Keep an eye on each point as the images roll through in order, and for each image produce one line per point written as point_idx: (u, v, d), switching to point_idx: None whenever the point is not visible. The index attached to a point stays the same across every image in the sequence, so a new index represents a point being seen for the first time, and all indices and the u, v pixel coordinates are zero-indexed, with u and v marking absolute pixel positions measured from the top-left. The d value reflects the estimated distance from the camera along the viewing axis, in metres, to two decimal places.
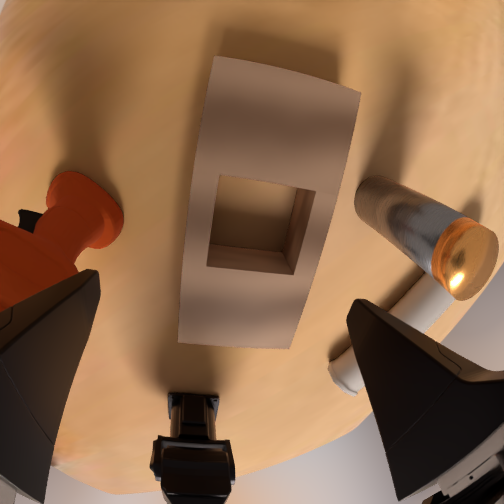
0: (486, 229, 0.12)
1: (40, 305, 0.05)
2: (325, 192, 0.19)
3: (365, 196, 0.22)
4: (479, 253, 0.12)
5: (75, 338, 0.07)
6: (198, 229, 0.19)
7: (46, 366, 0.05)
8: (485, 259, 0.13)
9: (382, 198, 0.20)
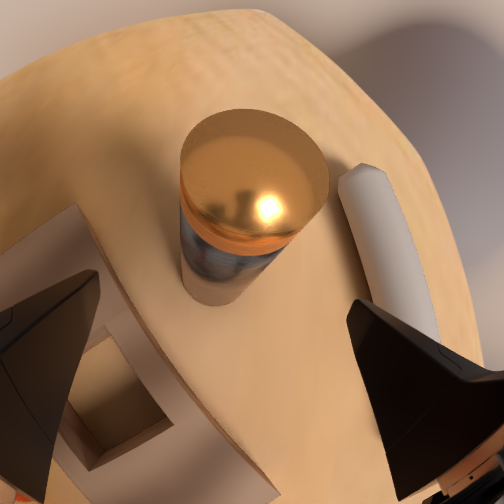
0: None
1: (40, 305, 0.05)
2: (114, 316, 0.14)
3: (184, 281, 0.18)
4: (233, 145, 0.08)
5: (75, 338, 0.07)
6: None
7: (46, 366, 0.05)
8: (262, 141, 0.09)
9: (181, 263, 0.16)
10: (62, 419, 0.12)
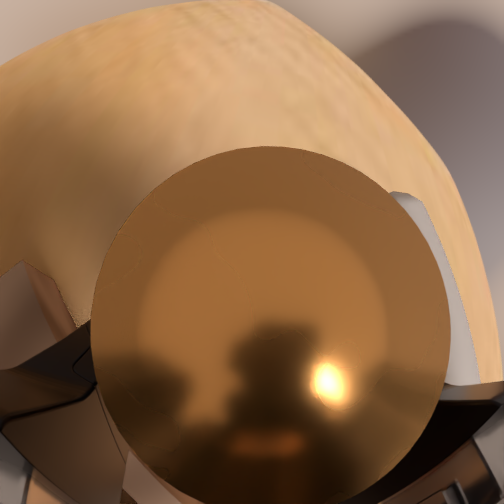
0: (169, 185, 0.03)
1: None
2: None
3: None
4: (243, 283, 0.03)
5: None
6: None
7: None
8: (322, 255, 0.03)
9: None
10: None
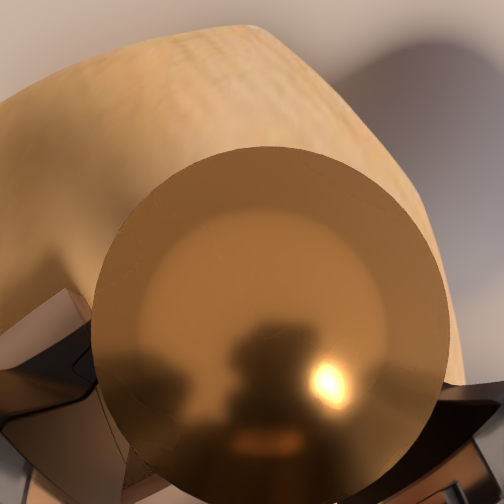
0: (169, 185, 0.03)
1: None
2: None
3: None
4: (243, 282, 0.03)
5: None
6: None
7: None
8: (322, 254, 0.03)
9: None
10: None
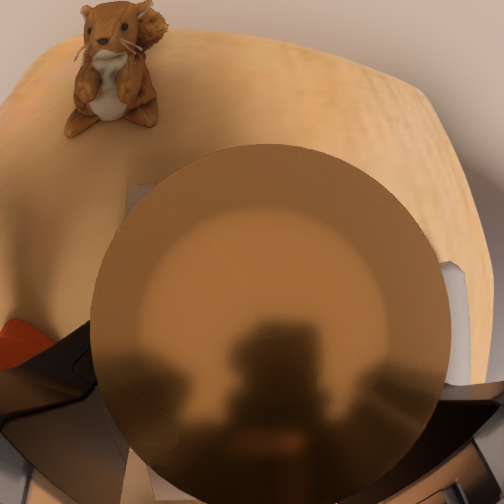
0: (169, 183, 0.03)
1: None
2: None
3: None
4: (244, 280, 0.03)
5: None
6: None
7: None
8: (323, 252, 0.03)
9: None
10: None
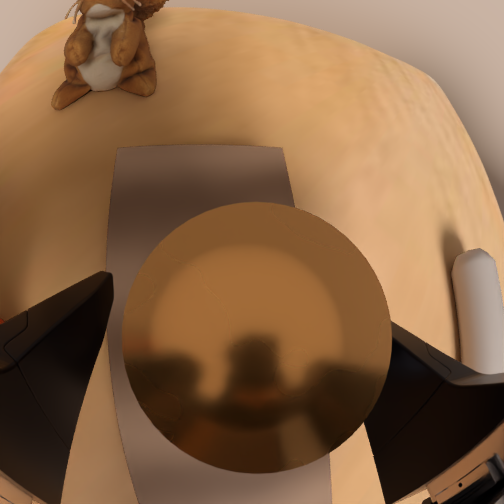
0: None
1: (57, 309, 0.05)
2: None
3: None
4: (224, 307, 0.04)
5: (91, 341, 0.07)
6: None
7: (63, 371, 0.05)
8: (281, 287, 0.05)
9: None
10: None
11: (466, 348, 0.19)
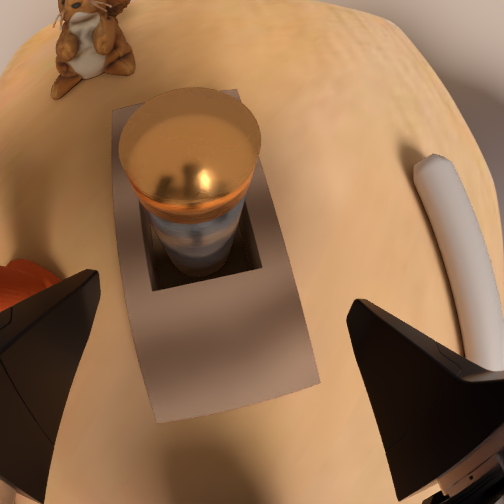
0: (142, 108, 0.09)
1: (40, 305, 0.05)
2: None
3: None
4: (165, 126, 0.08)
5: (75, 338, 0.07)
6: (130, 249, 0.16)
7: (46, 366, 0.05)
8: (192, 116, 0.09)
9: None
10: (147, 242, 0.18)
11: (443, 246, 0.23)
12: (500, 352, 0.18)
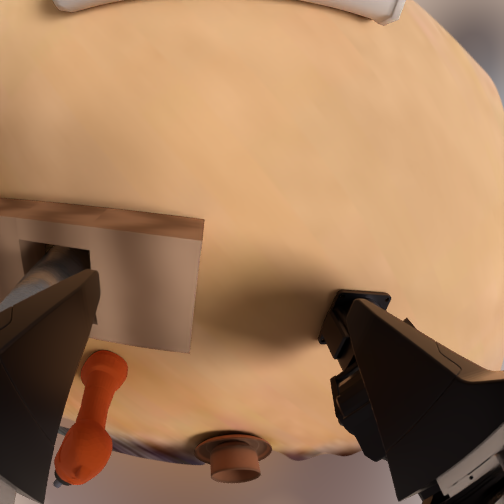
0: None
1: (40, 305, 0.05)
2: (16, 230, 0.16)
3: None
4: None
5: (75, 338, 0.07)
6: None
7: (46, 366, 0.05)
8: None
9: None
10: None
11: None
12: None
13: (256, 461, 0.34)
